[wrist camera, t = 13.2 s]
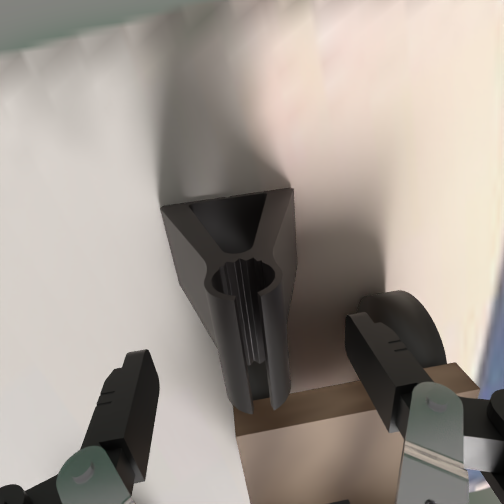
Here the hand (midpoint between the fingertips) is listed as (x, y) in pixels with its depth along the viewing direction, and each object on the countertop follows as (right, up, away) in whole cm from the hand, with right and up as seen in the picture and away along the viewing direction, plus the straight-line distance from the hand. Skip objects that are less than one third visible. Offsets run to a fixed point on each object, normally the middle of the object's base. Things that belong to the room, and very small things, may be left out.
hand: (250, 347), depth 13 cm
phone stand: (-1, +5, +10) cm, 11 cm away
